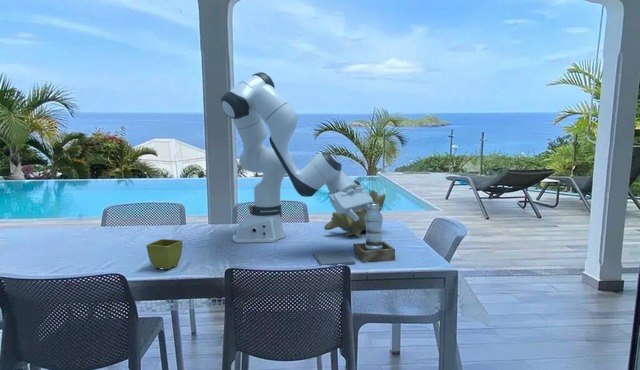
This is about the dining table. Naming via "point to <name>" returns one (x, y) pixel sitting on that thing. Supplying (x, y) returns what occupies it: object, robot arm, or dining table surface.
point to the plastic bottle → (373, 227)
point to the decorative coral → (348, 222)
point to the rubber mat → (333, 258)
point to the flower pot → (164, 253)
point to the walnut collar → (374, 253)
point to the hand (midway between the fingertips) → (365, 217)
